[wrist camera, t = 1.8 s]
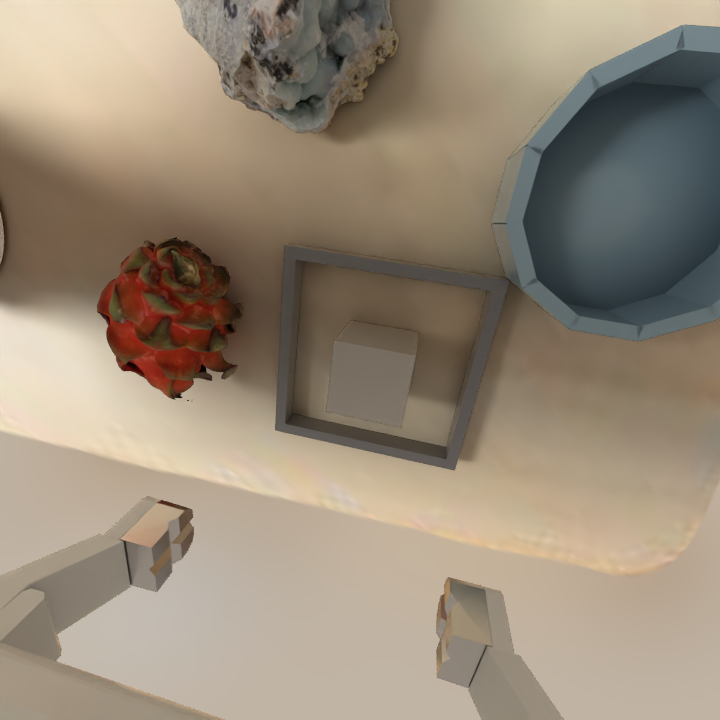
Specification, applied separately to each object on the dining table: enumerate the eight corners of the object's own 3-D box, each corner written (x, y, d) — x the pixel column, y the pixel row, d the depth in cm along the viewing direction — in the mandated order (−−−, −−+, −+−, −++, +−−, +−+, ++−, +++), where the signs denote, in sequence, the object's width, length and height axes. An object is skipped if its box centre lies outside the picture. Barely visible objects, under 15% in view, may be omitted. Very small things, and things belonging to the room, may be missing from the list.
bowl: (471, 298, 24) (480, 314, 20) (532, 60, 19) (561, 15, 15) (680, 333, 23) (736, 358, 18) (804, 84, 18) (919, 42, 14)
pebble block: (343, 380, 28) (326, 411, 24) (350, 319, 26) (334, 340, 22) (406, 393, 28) (401, 427, 23) (418, 332, 26) (416, 355, 21)
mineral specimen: (339, 123, 26) (318, -88, 20) (418, 123, 21) (421, -165, 15) (210, 143, 22) (135, -117, 16) (267, 149, 17) (186, -241, 11)
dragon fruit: (236, 225, 27) (227, 356, 33) (97, 204, 23) (116, 358, 29) (256, 270, 21) (240, 421, 27) (70, 253, 17) (102, 434, 23)
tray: (282, 420, 30) (275, 430, 29) (293, 243, 25) (284, 245, 23) (453, 457, 29) (454, 470, 27) (504, 277, 23) (509, 281, 22)
